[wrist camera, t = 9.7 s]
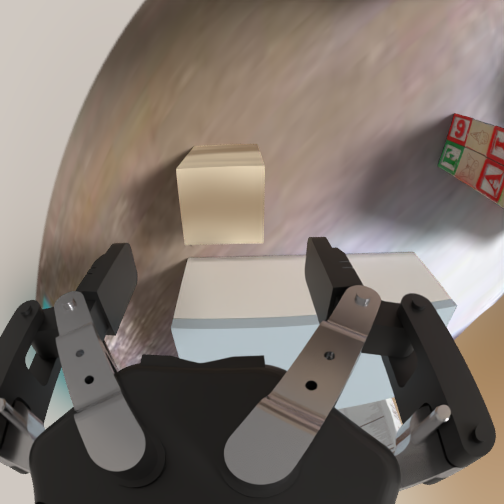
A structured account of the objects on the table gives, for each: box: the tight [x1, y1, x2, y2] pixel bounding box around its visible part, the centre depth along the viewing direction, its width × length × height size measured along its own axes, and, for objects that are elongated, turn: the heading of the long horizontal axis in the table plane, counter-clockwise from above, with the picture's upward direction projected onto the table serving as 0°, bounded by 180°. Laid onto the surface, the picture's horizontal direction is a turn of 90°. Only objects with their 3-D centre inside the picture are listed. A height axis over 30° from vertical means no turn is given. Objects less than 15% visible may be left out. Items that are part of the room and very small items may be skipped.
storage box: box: [173, 252, 451, 319], centre depth 27 cm, size 14×24×8 cm, turn 90°
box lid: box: [171, 299, 457, 409], centre depth 23 cm, size 14×24×1 cm, turn 90°
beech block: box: [176, 144, 265, 245], centre depth 19 cm, size 5×5×7 cm
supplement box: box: [337, 398, 401, 454], centre depth 34 cm, size 10×9×17 cm
